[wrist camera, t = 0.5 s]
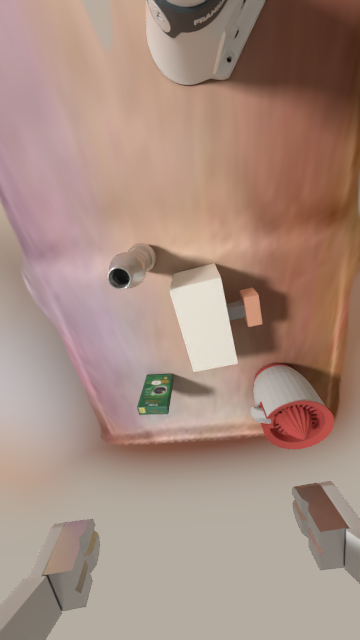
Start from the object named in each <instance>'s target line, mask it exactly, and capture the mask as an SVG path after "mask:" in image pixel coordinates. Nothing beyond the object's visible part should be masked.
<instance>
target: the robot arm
mask: <svg viewBox="0 0 360 640" xmlns="http://www.w3.org/2000/svg"><path fill="white" fill-rule="evenodd" d="M265 1H266V0H145V2H146V34H147V41H148V45H149V49H150V52H151V54H152V57H153V59H154V61H155V63H156V65H157V66H158V68H159V69H160V70H161V71H162V73H163V74H164V75H165V76H167V77H168V78H169V79H171V80H172V81H174V82H176V83H179V84H183V85H194V84H198V83H200V82H203V81H205V80H208V79H217V80H225V79H227V78H229V77H230V75H231V73H232V71H233V69H234V67H235V65H236V63H237V61H238V59H239V56H240V54H241V52H242V50H243V48H244V46H245V44H246V42H247V40H248V37H249V35H250V33H251V31H252V29H253V27H254V25H255V23H256V20H257V18H258V16H259V14H260V12H261V10H262V8H263V6H264V3H265ZM228 58H230V59H231V62H230V63H228V62H227V59H228ZM292 495H293V496H294V498H295V500H294V501H293V511H294V514H295V518H296V521H297V523H298V526H299V528H300V530H301V532H302V533H303V534H304V535H305V536H306V537H308V538H309V548H310V550H311V552H312V555H313V556H314V559H315V561H316V563H317V565H318V567H319V569H320V570H326V569H335V568H343V567H345V570H346V571H348V573H349V574H350V575H351V576H353V577H354V578H355V579H356V580H357V581H358V582H359V583H360V518H359V517H358V516H357V514H356V513H355V512H354V510H353V509H352V508H351V506H350V505H349V503H348V502H347V501H346V500H345V499H344V497H343V496H342V494H341V493H340V491H339V490H338V489H337V487H336V486H335V485H334V484H333V483H332V482H331V481H327V482H321V483H313V484H307V485H301V486H296V487H293V488H292ZM94 527H95V523H94V521H93V519H88V520H80V521H72V522H64V523H59V524H54V525H53V526H52V527H51V529H50V530H49V533H48V535H47V537H46V539H45V541H44V543H43V546H42V548H41V550H40V552H39V554H38V556H37V559H36V561H35V563H34V565H33V567H32V569H31V572H30V574H29V576H28V578H27V579H23V580H22V581H21V582H20V583H19V585H18V586H17V587H16V588H15V589H14V590H13V591H12V592H11V594H10V595H9V596H8V597H7V598H6V599H5V600H4V601H3V602H2V603H1V605H0V640H46V638H47V636H48V635H49V633H50V632H51V630H52V628H53V627H54V625H55V624H56V622H57V620H58V619H59V617H60V616H61V614H62V612H61V611H66V610H71V609H76V608H82V607H86V604H87V600H88V596H89V592H90V589H91V585H92V577H91V574H90V573H91V572H92V570H93V569H94V568H95V566H96V565H97V561H98V556H99V548H100V541H99V535H98V533H97V532H96V531H94Z"/></svg>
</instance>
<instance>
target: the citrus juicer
mask: <svg viewBox="0 0 360 640" xmlns="http://www.w3.org/2000/svg"><path fill="white" fill-rule="evenodd" d="M253 386H254V400H255V404H256V407H251V416H252V418H253V420H254V421H256V422H260V423H261V425H262V428H263V431H264V434H265V437H266V438H267V439H268V440H269V441H270V442H271V443H273V444H274V445H276V446H278V447H282V448H286V449H301V448H306V447H309V446H312V445H315V444H317V443H319V442H320V441H322V440H323V439H325V438H326V437H327V436H328V435H329V434H330V432H331V431H332V429H333V426H334V417H333V414H332V412H331V411H330V410H329V409H328V408H327V407H326V406H325V404H324V403H323V402H322V400H321V399H320V397H319V396H318V394H317V393H316V391H315V390H314V389H313V387H312V386H311V384H310V383H309V382H308V381H307V380H306V379H305V378H304V377H303V376H302V375H301V374H300V373H299V372H297V371H296V370H295V369H293V368H292V367H290V366H288V365H285V364H281V363H274V364H269V365H267V366H265V367H263V368H262V369H260V370H259V371H258V373H257V374H256V376H255V379H254V385H253Z"/></svg>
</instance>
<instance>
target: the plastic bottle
mask: <svg viewBox="0 0 360 640" xmlns="http://www.w3.org/2000/svg"><path fill="white" fill-rule="evenodd" d="M155 263H156V254H155V252H154V250H153V249H152V248H151V247H150V246H149V245H146V244H136V245H133V246H132V247H131V248H130V249H129V250H128V252H125V253H121V254H118V255H116V256H115V257H114V258H113V259H112V261H111V263H110V266H109V274H108V281H109V283H110V285H111V286H112V287H114V288H116V289H125V288H133V287H136V286H138V285H139V284H141V283H142V281H143V280H144V278H145V275H146V272H148V271H150V270H151V269H152V268H153V267H154V265H155Z"/></svg>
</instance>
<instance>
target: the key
mask: <svg viewBox="0 0 360 640" xmlns="http://www.w3.org/2000/svg"><path fill="white" fill-rule="evenodd" d="M239 292H240V298H241V300H240V301H235V302H231V303H226V306H227V311H228V316H229V321H231V320H236V319H240V318H244V319H245V321H246V323H247V325H248V327H251V326H256V325H261V324H262V318H261V310H260V302H259V295H258V293H257V292H256V291H255V290H254V289H253V287H252V288H248V289H244V290H239Z"/></svg>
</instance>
